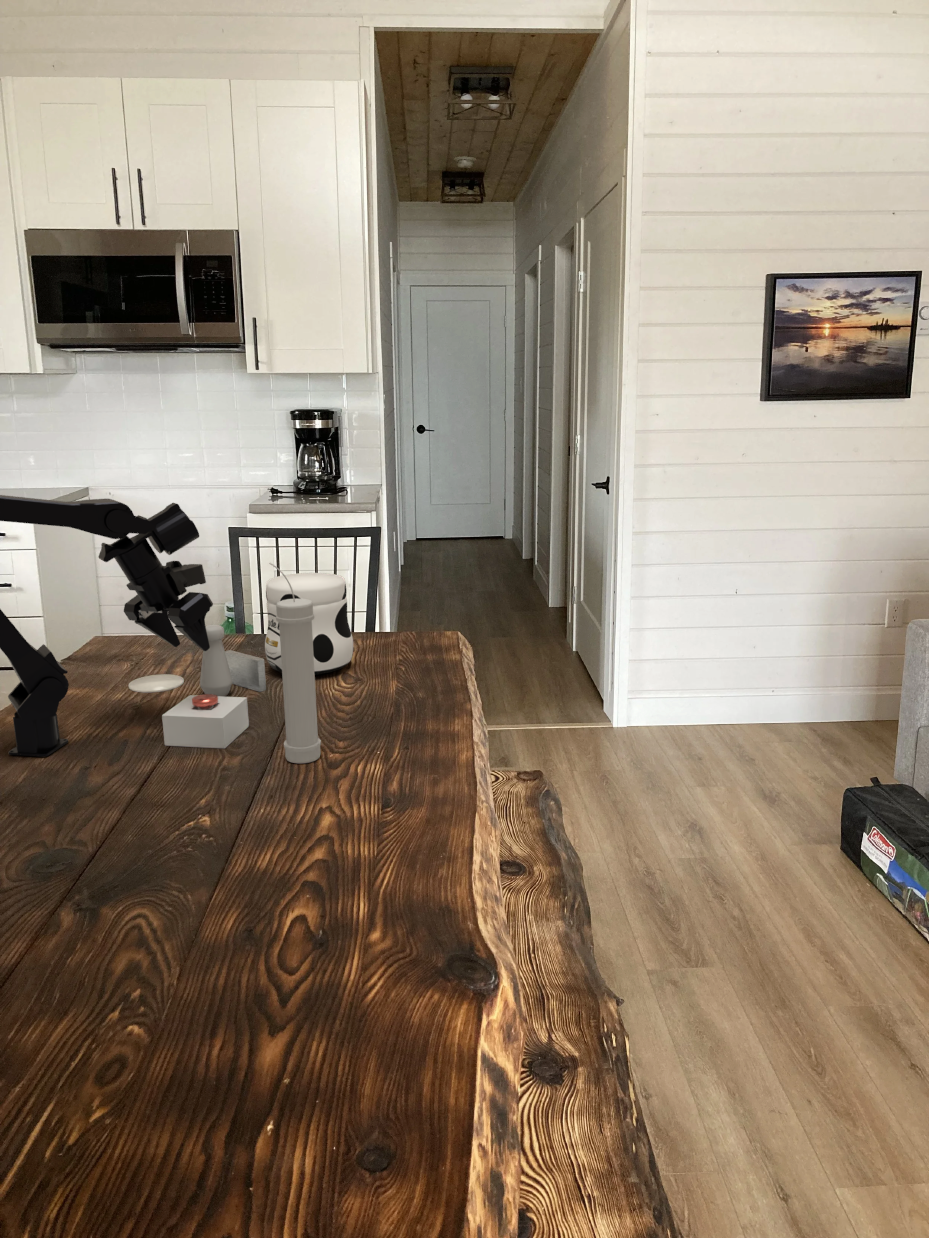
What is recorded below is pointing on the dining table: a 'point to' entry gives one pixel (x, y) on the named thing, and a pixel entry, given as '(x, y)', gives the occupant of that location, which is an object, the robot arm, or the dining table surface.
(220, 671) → the salt shaker
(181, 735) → the button block
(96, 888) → the dining table surface
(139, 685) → the coaster
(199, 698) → the plunger
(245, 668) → the flat rectangular plate
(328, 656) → the milk container
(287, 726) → the grey cylinder
